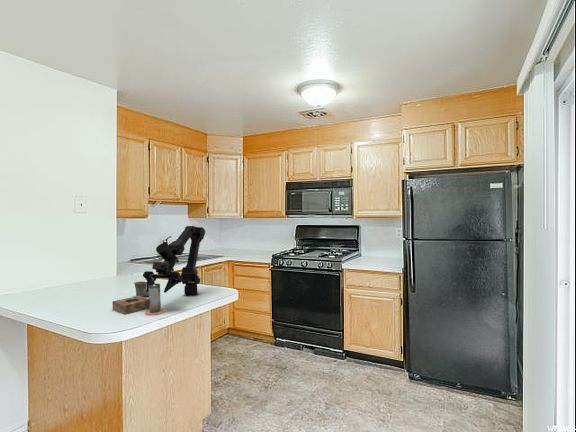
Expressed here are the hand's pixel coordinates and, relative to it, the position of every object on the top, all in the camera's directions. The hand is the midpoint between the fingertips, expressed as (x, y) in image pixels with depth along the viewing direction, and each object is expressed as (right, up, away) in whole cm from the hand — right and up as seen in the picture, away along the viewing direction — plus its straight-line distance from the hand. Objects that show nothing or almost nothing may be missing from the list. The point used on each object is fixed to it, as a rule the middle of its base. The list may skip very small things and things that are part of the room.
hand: (155, 292), depth 161 cm
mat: (0, -9, -1) cm, 9 cm away
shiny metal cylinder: (0, -9, -1) cm, 9 cm away
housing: (-14, -9, +6) cm, 18 cm away
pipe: (-18, -9, +30) cm, 36 cm away
